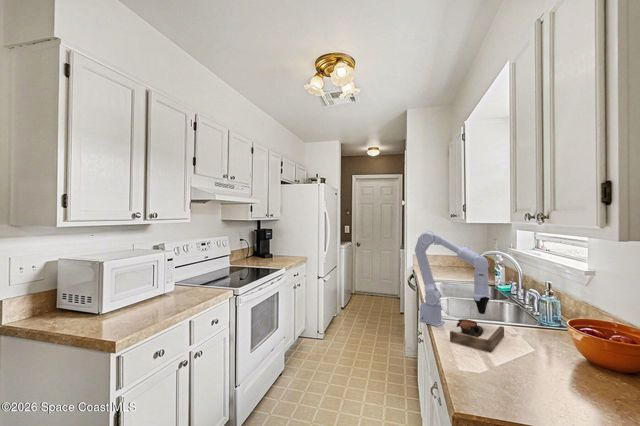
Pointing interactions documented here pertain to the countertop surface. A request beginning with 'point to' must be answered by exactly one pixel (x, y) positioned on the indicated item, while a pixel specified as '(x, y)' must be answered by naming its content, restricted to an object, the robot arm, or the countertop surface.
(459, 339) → the walnut corner walls
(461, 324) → the pottery mug
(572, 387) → the countertop surface
